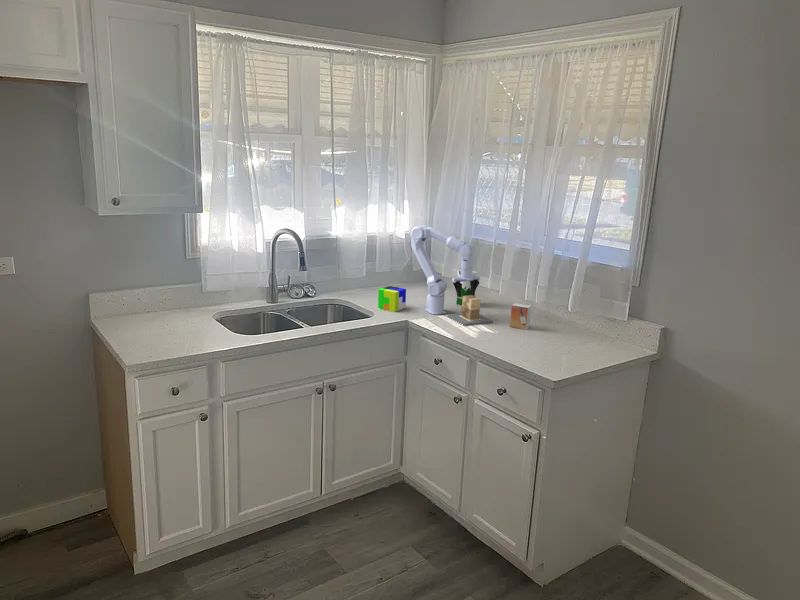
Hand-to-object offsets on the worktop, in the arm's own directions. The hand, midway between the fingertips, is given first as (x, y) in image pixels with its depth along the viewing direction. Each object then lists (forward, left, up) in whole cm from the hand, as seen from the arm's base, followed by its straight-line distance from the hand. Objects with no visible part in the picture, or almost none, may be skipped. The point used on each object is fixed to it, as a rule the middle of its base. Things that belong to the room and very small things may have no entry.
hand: (465, 295), depth 295 cm
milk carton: (-19, +13, -11) cm, 26 cm away
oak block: (+6, 0, -4) cm, 7 cm away
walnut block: (+6, 0, -9) cm, 11 cm away
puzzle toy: (-25, -27, -11) cm, 39 cm away
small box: (+24, +16, -11) cm, 30 cm away
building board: (+6, 0, -10) cm, 12 cm away
